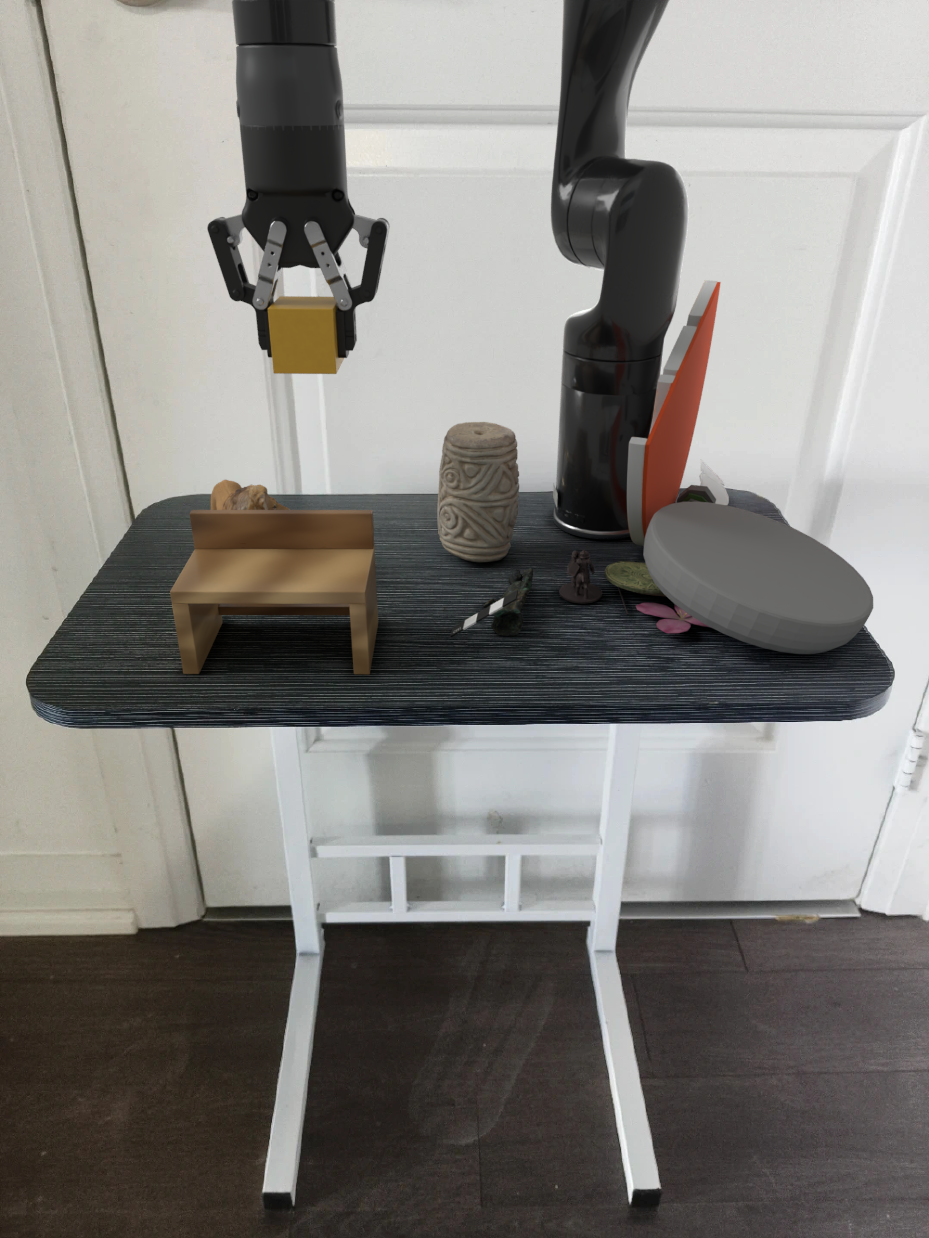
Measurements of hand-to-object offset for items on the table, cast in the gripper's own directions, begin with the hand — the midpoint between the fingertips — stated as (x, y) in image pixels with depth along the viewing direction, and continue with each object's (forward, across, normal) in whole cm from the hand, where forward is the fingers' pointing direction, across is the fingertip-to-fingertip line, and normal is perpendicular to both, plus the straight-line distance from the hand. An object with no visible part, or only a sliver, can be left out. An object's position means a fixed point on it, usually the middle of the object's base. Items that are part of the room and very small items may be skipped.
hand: (308, 354), depth 78 cm
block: (+1, 0, 0) cm, 1 cm away
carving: (+19, -14, -4) cm, 24 cm away
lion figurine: (+20, +8, -2) cm, 21 cm away
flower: (+20, -31, +9) cm, 37 cm away
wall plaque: (+6, -37, -23) cm, 44 cm away
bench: (+20, +1, +13) cm, 24 cm away
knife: (+19, -39, -12) cm, 45 cm away
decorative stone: (+13, -37, +8) cm, 40 cm away
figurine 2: (+19, -24, +4) cm, 31 cm away
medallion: (+19, -29, +3) cm, 35 cm away
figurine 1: (+20, -15, +8) cm, 26 cm away
